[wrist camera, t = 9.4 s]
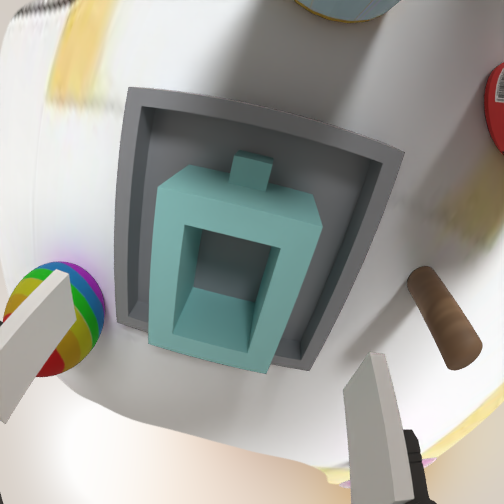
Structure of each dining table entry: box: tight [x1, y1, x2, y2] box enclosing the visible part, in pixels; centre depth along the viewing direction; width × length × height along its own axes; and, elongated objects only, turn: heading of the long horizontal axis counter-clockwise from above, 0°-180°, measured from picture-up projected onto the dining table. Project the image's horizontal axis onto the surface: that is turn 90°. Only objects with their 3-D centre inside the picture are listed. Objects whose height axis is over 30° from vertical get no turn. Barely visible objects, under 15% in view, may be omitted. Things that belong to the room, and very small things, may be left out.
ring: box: [148, 150, 323, 374], centre depth 17 cm, size 8×12×5 cm, turn 167°
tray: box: [114, 87, 405, 371], centre depth 19 cm, size 16×15×3 cm
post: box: [407, 266, 482, 370], centre depth 17 cm, size 2×2×8 cm
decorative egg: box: [3, 262, 105, 377], centre depth 20 cm, size 8×8×10 cm
